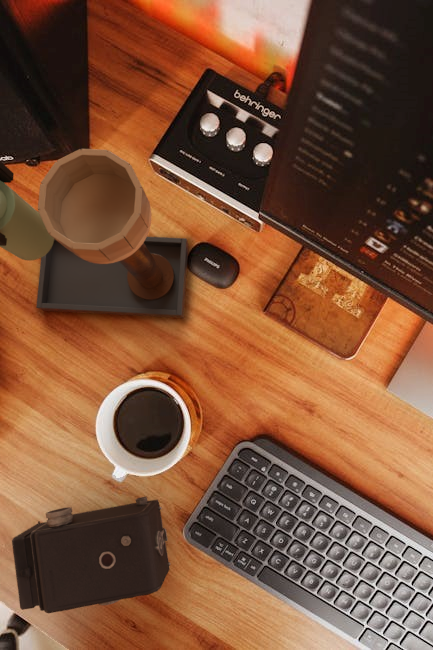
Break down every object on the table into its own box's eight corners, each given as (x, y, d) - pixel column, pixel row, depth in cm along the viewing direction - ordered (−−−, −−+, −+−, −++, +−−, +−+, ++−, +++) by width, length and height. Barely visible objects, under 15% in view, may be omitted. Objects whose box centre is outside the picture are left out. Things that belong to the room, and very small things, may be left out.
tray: (43, 310, 68) (36, 307, 66) (50, 237, 69) (43, 231, 67) (183, 318, 67) (181, 315, 65) (188, 243, 68) (186, 238, 66)
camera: (159, 478, 66) (31, 505, 65) (154, 492, 55) (-1, 526, 54) (176, 570, 65) (46, 600, 63) (175, 604, 53) (16, 642, 52)
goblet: (119, 306, 67) (33, 247, 39) (123, 246, 68) (43, 146, 40) (180, 309, 67) (137, 252, 39) (184, 249, 67) (145, 150, 40)
